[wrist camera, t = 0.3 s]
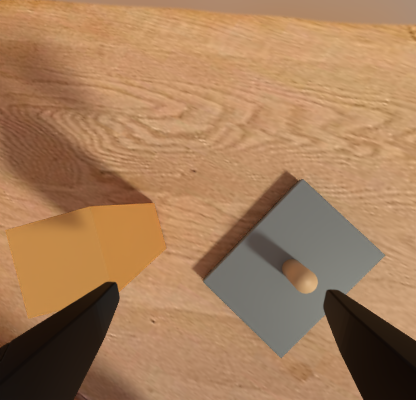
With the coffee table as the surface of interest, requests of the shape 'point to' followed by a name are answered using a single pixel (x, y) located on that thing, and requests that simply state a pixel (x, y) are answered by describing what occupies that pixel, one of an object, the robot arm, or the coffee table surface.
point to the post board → (298, 241)
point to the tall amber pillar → (82, 253)
